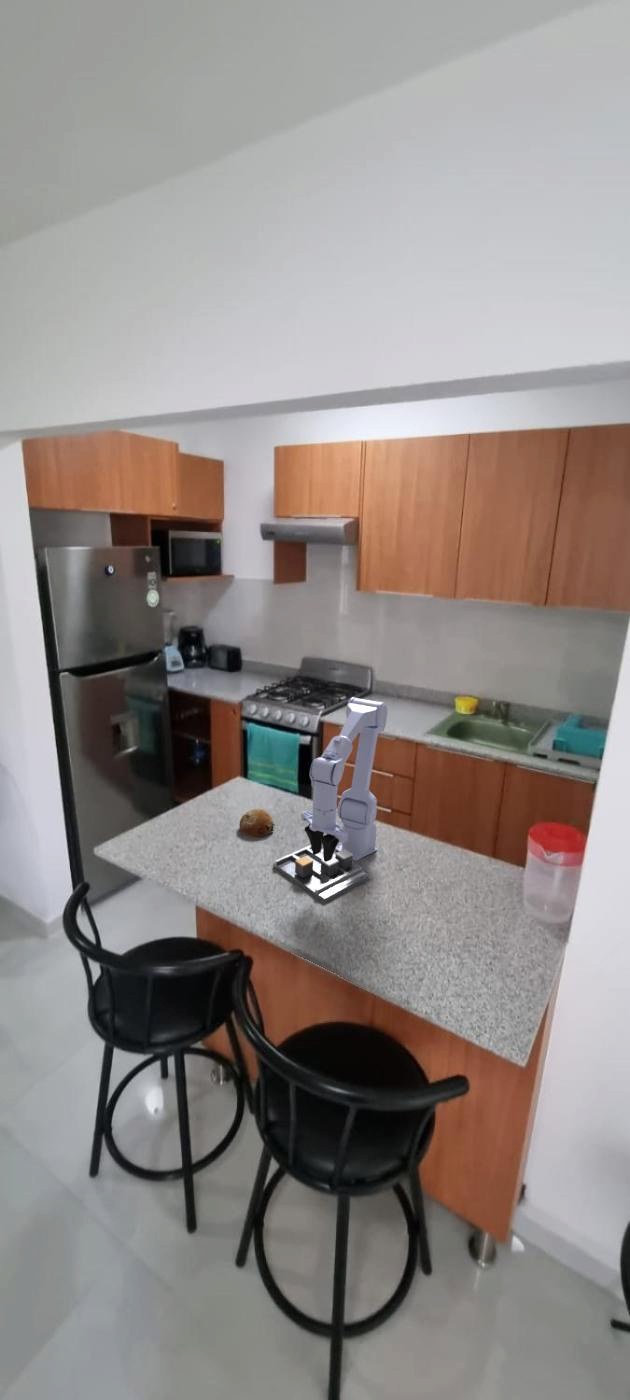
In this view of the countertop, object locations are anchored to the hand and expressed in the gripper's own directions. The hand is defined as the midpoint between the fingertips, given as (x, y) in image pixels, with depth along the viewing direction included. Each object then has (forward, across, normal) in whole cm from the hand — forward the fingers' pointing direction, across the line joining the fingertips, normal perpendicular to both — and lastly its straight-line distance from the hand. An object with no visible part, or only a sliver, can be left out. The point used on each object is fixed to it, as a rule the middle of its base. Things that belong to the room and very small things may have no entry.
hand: (322, 856), depth 138 cm
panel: (+9, -6, +5) cm, 12 cm away
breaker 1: (+8, -2, +5) cm, 10 cm away
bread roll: (+10, -34, +6) cm, 36 cm away
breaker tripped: (+8, -7, 0) cm, 10 cm away
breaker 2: (+8, -3, +10) cm, 13 cm away
